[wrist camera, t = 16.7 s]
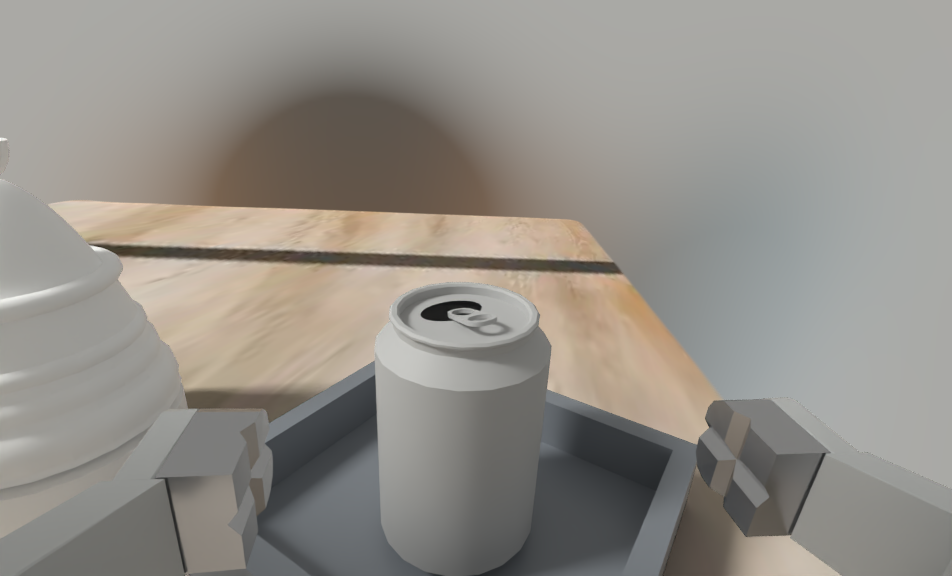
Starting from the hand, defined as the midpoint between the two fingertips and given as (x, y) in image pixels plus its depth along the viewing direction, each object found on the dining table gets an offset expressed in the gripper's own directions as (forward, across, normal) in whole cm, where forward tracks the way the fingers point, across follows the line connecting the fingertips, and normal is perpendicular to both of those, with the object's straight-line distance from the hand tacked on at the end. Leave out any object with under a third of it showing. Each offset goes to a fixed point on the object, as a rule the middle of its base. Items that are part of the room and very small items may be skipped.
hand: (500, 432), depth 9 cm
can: (+11, -1, +15) cm, 19 cm away
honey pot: (+18, +21, +17) cm, 33 cm away
